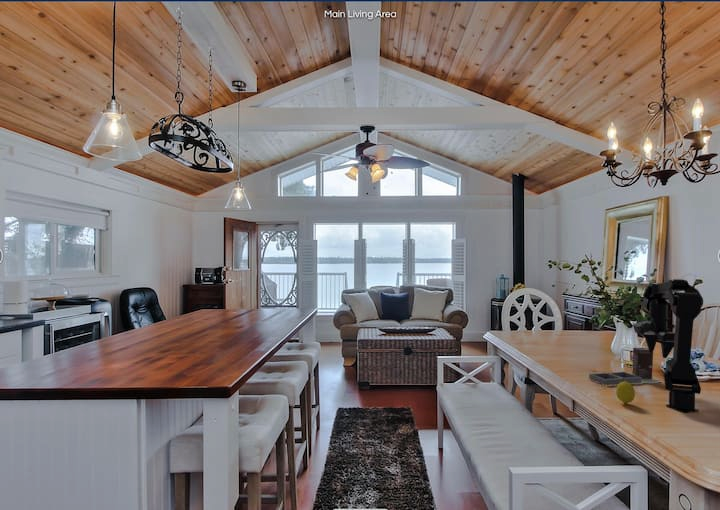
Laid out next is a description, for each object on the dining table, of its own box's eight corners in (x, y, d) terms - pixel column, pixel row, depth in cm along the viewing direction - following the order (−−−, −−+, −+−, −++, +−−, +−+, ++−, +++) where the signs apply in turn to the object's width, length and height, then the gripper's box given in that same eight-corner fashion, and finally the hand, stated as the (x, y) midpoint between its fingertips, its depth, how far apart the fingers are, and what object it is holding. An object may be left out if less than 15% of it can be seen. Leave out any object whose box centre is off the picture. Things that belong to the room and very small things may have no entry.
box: (637, 378, 176) (638, 349, 176) (631, 375, 181) (632, 347, 181) (653, 379, 176) (653, 350, 176) (646, 376, 180) (647, 347, 180)
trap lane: (661, 382, 174) (661, 376, 174) (606, 386, 168) (606, 380, 168) (640, 375, 184) (640, 370, 184) (587, 379, 178) (587, 373, 178)
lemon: (625, 407, 145) (626, 383, 145) (612, 401, 150) (612, 379, 150) (638, 406, 147) (639, 382, 147) (624, 400, 152) (625, 378, 152)
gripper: (624, 311, 176) (623, 349, 177) (649, 318, 158) (648, 360, 158) (653, 312, 175) (652, 350, 175) (682, 319, 157) (681, 361, 157)
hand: (657, 355), depth 166 cm, fingers open, 9 cm apart
